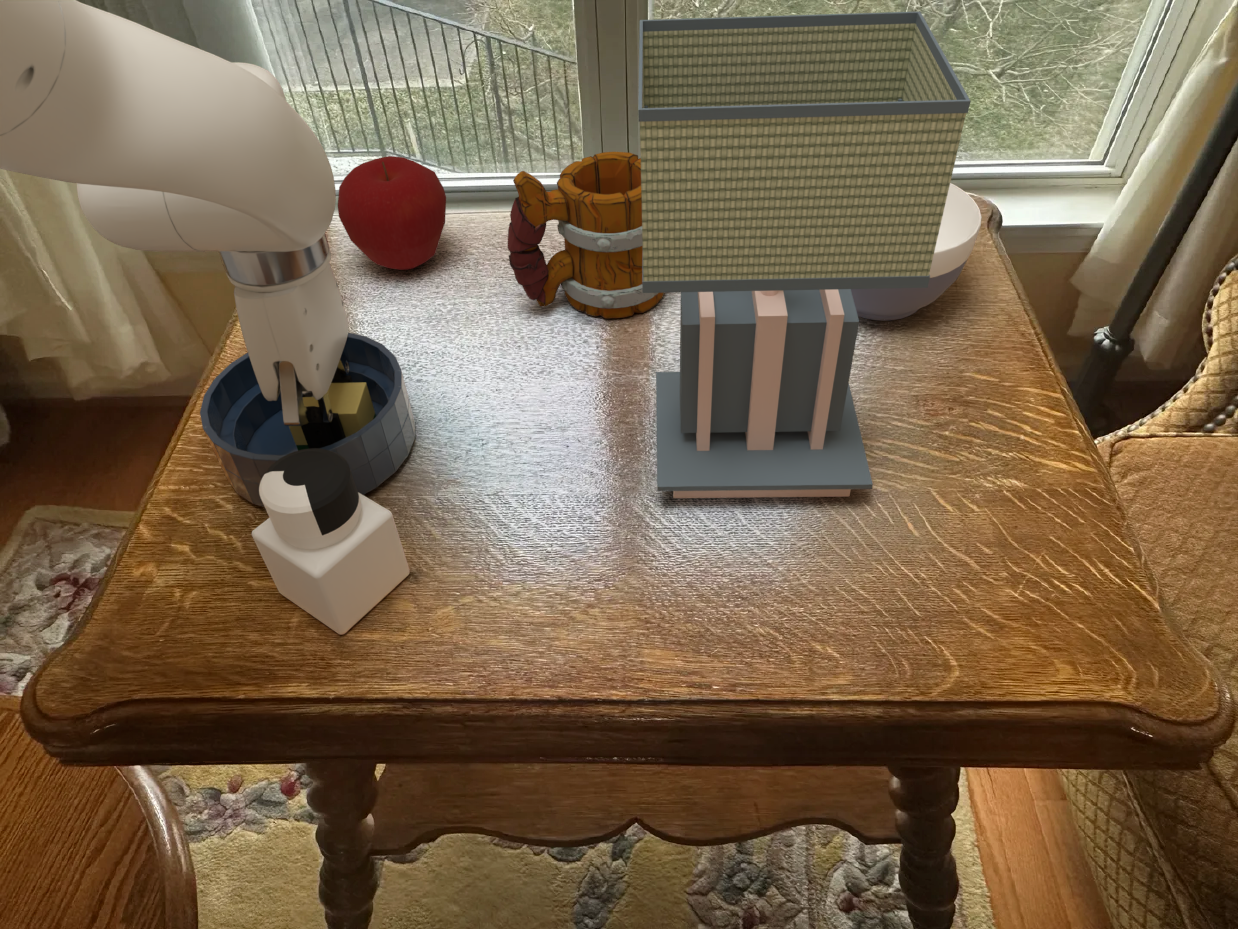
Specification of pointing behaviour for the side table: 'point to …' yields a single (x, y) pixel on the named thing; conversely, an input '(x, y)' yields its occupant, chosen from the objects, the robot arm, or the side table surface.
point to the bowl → (945, 268)
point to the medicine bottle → (327, 539)
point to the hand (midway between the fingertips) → (336, 429)
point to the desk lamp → (784, 230)
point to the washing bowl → (258, 436)
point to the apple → (393, 211)
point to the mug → (584, 237)
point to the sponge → (342, 409)
